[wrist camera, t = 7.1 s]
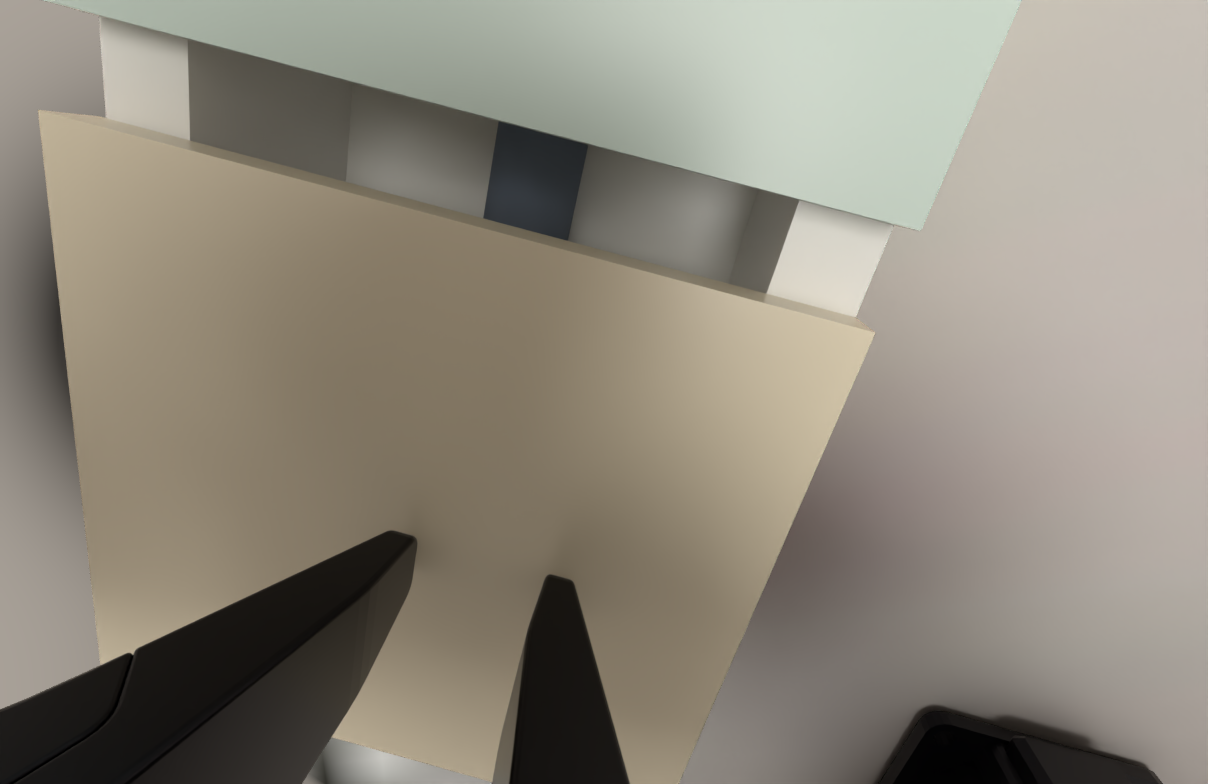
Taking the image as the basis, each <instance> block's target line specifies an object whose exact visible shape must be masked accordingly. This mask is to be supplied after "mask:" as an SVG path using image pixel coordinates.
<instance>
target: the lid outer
mask: <svg viewBox="0 0 1208 784" xmlns="http://www.w3.org/2000/svg"><path fill="white" fill-rule="evenodd" d="M43 1H47V2H50V3H54V4H57V5H61V6H65V7H68V8H72V9H75V10H79V11H82V12H86V13H90V14H93V15H98V16H101V17H105V18H108V19H112V20H116V21H120V22H124V23H127V24H131V25H135V26H139V27H143V28H146V29H150V30H154V31H158V32H162V33H165V34H169V35H173V36H177V37H181V38H184V39H188V40H192V41H196V42H200V43H203V44H207V45H211V46H215V47H219V48H222V49H226V50H230V51H234V52H238V53H241V54H245V55H249V56H253V57H257V58H260V59H264V60H268V61H272V62H276V63H279V64H283V65H287V66H291V67H295V68H298V69H302V70H306V71H310V72H314V73H317V74H321V75H325V76H329V77H333V78H336V79H340V80H344V81H348V82H352V83H355V84H359V85H363V86H367V87H371V88H374V89H378V90H382V91H386V92H390V93H393V94H397V95H401V96H405V97H409V98H412V99H416V100H420V101H424V102H428V103H432V104H435V105H439V106H443V107H447V108H451V109H454V110H458V111H462V112H466V113H470V114H473V115H477V116H481V117H485V118H489V119H492V120H496V121H500V122H504V123H508V124H511V125H515V126H519V127H523V128H527V129H530V130H534V131H538V132H542V133H546V134H549V135H553V136H557V137H561V138H565V139H568V140H572V141H576V142H580V143H584V144H587V145H591V146H595V147H599V148H603V149H606V150H610V151H614V152H618V153H622V154H625V155H629V156H633V157H637V158H641V159H644V160H648V161H652V162H656V163H660V164H663V165H667V166H671V167H675V168H679V169H682V170H686V171H690V172H694V173H698V174H701V175H705V176H709V177H713V178H717V179H720V180H724V181H728V182H732V183H736V184H739V185H743V186H747V187H751V188H755V189H758V190H762V191H766V192H770V193H774V194H777V195H781V196H785V197H789V198H793V199H796V200H800V201H804V202H808V203H812V204H815V205H819V206H823V207H827V208H831V209H834V210H838V211H842V212H846V213H850V214H853V215H857V216H861V217H865V218H869V219H872V220H876V221H880V222H884V223H888V224H891V225H895V226H900V227H905V228H909V229H914V230H918V231H921V230H922V227H923V225H924V223H925V221H926V218H927V216H928V214H929V211H930V209H931V207H932V205H933V202H934V200H935V198H936V195H937V193H938V191H939V189H940V186H941V184H942V182H943V179H944V177H945V175H946V173H947V170H948V168H949V166H950V163H951V161H952V159H953V157H954V154H955V152H956V150H957V147H958V145H959V143H960V141H961V138H962V136H963V134H964V131H965V129H966V127H967V125H968V122H969V120H970V118H971V115H972V113H973V111H974V108H975V106H976V104H977V102H978V99H979V97H980V95H981V92H982V90H983V88H984V86H985V83H986V81H987V79H988V76H989V74H990V72H991V70H992V67H993V65H994V63H995V60H996V58H997V56H998V54H999V51H1000V49H1001V47H1002V44H1003V42H1004V40H1005V38H1006V35H1007V33H1008V31H1009V28H1010V26H1011V24H1012V22H1013V19H1014V17H1015V15H1016V12H1017V10H1018V8H1019V6H1020V3H1021V1H1022V0H43Z"/></svg>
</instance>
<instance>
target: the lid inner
mask: <svg viewBox="0 0 1208 784" xmlns="http://www.w3.org/2000/svg"><path fill="white" fill-rule="evenodd" d="M38 116H39V124H40V132H41V141H42V151H43V160H44V168H45V178H46V187H47V195H48V204H49V213H50V221H51V231H52V240H53V249H54V257H55V266H56V275H57V284H58V293H59V302H60V310H61V320H62V327H63V337H64V346H65V355H66V364H67V373H68V381H69V390H70V399H71V408H72V416H73V426H74V435H75V443H76V452H77V461H78V469H79V479H80V488H81V496H82V506H83V514H84V523H85V532H86V541H87V550H88V559H89V568H90V576H91V585H92V594H93V603H94V612H95V621H96V630H97V638H98V647H99V656H100V665H102V664H104V663H106V662H108V661H110V660H113V659H115V658H117V657H119V656H121V655H123V654H125V653H132V654H134V651H135V650H136V649H137V648H139V647H141V646H143V645H145V644H147V643H149V642H151V641H154V640H156V639H158V638H160V637H162V636H164V635H166V634H169V633H171V632H173V631H175V630H177V629H179V628H181V627H183V626H186V625H188V624H190V623H192V622H194V621H196V620H198V619H200V618H203V617H205V616H207V615H209V614H211V613H213V612H215V611H218V610H220V609H222V608H224V607H226V606H228V605H230V604H232V603H235V602H237V601H239V600H241V599H243V598H245V597H247V596H249V595H252V594H254V593H256V592H258V591H260V590H262V589H264V588H267V587H269V586H271V585H273V584H275V583H277V582H279V581H281V580H284V579H286V578H288V577H290V576H292V575H294V574H296V573H298V572H301V571H303V570H305V569H307V568H309V567H311V566H313V565H316V564H318V563H320V562H322V561H324V560H326V559H328V558H330V557H333V556H335V555H337V554H339V553H341V552H343V551H345V550H347V549H350V548H352V547H354V546H356V545H358V544H360V543H362V542H365V541H367V540H369V539H371V538H373V537H375V536H377V535H379V534H382V533H384V532H386V531H389V530H394V531H398V532H402V533H405V534H409V535H413V536H415V538H416V539H417V552H416V559H415V566H414V572H413V579H412V584H411V587H410V590H409V593H408V596H407V598H406V600H405V602H404V604H403V606H402V608H401V610H400V612H399V614H398V616H397V618H396V620H395V622H394V624H393V626H392V628H391V630H390V632H389V634H388V636H387V638H386V640H385V642H384V644H383V646H382V648H381V650H380V652H379V654H378V656H377V658H376V660H375V662H374V664H373V666H372V668H371V670H370V672H369V674H368V676H367V678H366V680H365V682H364V684H363V686H362V688H361V690H360V692H359V694H358V695H357V697H356V699H355V700H354V702H353V704H352V705H351V707H350V709H349V710H348V712H347V714H346V715H345V717H344V718H343V720H342V721H341V723H340V725H339V726H338V728H337V729H336V731H335V733H334V734H333V736H332V737H333V738H337V739H340V740H344V741H347V742H351V743H354V744H358V745H362V746H365V747H369V748H372V749H376V750H379V751H383V752H387V753H390V754H394V755H397V756H401V757H404V758H408V759H412V760H415V761H419V762H422V763H426V764H429V765H433V766H437V767H440V768H444V769H447V770H451V771H454V772H458V773H462V774H465V775H469V776H472V777H476V778H479V779H483V780H487V781H490V782H492V780H493V775H494V769H495V764H496V758H497V752H498V748H499V743H500V738H501V733H502V729H503V725H504V721H505V717H506V713H507V709H508V705H509V701H510V697H511V693H512V689H513V685H514V681H515V677H516V673H517V669H518V665H519V661H520V657H521V654H522V650H523V646H524V642H525V638H526V634H527V630H528V627H529V623H530V620H531V617H532V614H533V611H534V609H535V606H536V603H537V600H538V597H539V594H540V591H541V588H542V585H543V582H544V579H545V577H546V576H547V575H549V574H552V575H556V576H560V577H563V578H567V579H570V580H572V581H573V582H574V584H575V587H576V591H577V594H578V598H579V601H580V605H581V609H582V612H583V616H584V619H585V623H586V627H587V630H588V634H589V637H590V641H591V645H592V648H593V652H594V655H595V659H596V663H597V666H598V670H599V673H600V677H601V681H602V684H603V688H604V691H605V695H606V699H607V702H608V706H609V709H610V713H611V717H612V720H613V724H614V727H615V731H616V735H617V738H618V742H619V745H620V749H621V753H622V756H623V760H624V763H625V767H626V771H627V774H628V778H629V781H630V784H679V782H680V780H681V777H682V775H683V773H684V771H685V768H686V766H687V764H688V761H689V759H690V757H691V755H692V752H693V750H694V748H695V745H696V743H697V741H698V739H699V736H700V734H701V732H702V729H703V727H704V725H705V723H706V720H707V718H708V716H709V713H710V711H711V709H712V706H713V704H714V702H715V700H716V697H717V695H718V693H719V690H720V688H721V686H722V684H723V681H724V679H725V677H726V674H727V672H728V670H729V668H730V665H731V663H732V661H733V658H734V656H735V654H736V651H737V649H738V647H739V645H740V642H741V640H742V638H743V635H744V633H745V631H746V629H747V626H748V624H749V622H750V619H751V617H752V615H753V613H754V610H755V608H756V606H757V603H758V601H759V599H760V596H761V594H762V592H763V590H764V587H765V585H766V583H767V580H768V578H769V576H770V574H771V571H772V569H773V567H774V564H775V562H776V560H777V558H778V555H779V553H780V551H781V548H782V546H783V544H784V541H785V539H786V537H787V535H788V532H789V530H790V528H791V525H792V523H793V521H794V519H795V516H796V514H797V512H798V509H799V507H800V505H801V503H802V500H803V498H804V496H805V493H806V491H807V489H808V486H809V484H810V482H811V480H812V477H813V475H814V473H815V470H816V468H817V466H818V464H819V461H820V459H821V457H822V454H823V452H824V450H825V448H826V445H827V443H828V441H829V438H830V436H831V434H832V432H833V429H834V427H835V425H836V422H837V420H838V418H839V415H840V413H841V411H842V409H843V406H844V404H845V402H846V399H847V397H848V395H849V393H850V390H851V388H852V386H853V383H854V381H855V379H856V377H857V374H858V372H859V370H860V367H861V365H862V363H863V360H864V358H865V356H866V354H867V351H868V349H869V347H870V344H871V342H872V340H873V338H874V335H875V332H874V331H873V330H871V329H870V328H869V327H867V326H866V325H865V324H863V323H862V322H861V321H860V320H858V319H857V318H856V317H852V316H848V315H844V314H841V313H837V312H833V311H829V310H826V309H822V308H818V307H814V306H811V305H807V304H803V303H799V302H796V301H792V300H788V299H785V298H781V297H777V296H773V295H770V294H766V293H762V292H758V291H755V290H751V289H747V288H743V287H739V286H736V285H732V284H728V283H724V282H721V281H717V280H713V279H709V278H706V277H702V276H698V275H694V274H691V273H687V272H683V271H679V270H675V269H672V268H668V267H664V266H660V265H657V264H653V263H649V262H645V261H642V260H638V259H634V258H630V257H627V256H623V255H619V254H615V253H611V252H608V251H604V250H600V249H596V248H593V247H589V246H585V245H581V244H578V243H574V242H570V241H566V240H563V239H559V238H555V237H551V236H548V235H544V234H540V233H536V232H532V231H529V230H525V229H521V228H517V227H514V226H510V225H506V224H502V223H499V222H495V221H491V220H487V219H484V218H480V217H476V216H472V215H468V214H465V213H461V212H457V211H453V210H450V209H446V208H442V207H438V206H435V205H431V204H427V203H423V202H420V201H416V200H412V199H408V198H405V197H401V196H397V195H393V194H389V193H386V192H382V191H378V190H374V189H371V188H367V187H363V186H359V185H356V184H352V183H348V182H344V181H341V180H337V179H333V178H329V177H325V176H322V175H318V174H314V173H310V172H307V171H303V170H299V169H295V168H292V167H288V166H284V165H280V164H277V163H273V162H269V161H265V160H261V159H258V158H254V157H250V156H246V155H243V154H239V153H235V152H231V151H228V150H224V149H220V148H216V147H213V146H209V145H205V144H201V143H198V142H194V141H190V140H186V139H182V138H179V137H175V136H171V135H167V134H164V133H160V132H156V131H152V130H149V129H145V128H141V127H137V126H134V125H130V124H126V123H122V122H118V121H115V120H111V119H107V118H103V117H99V116H90V115H80V114H72V113H62V112H53V111H43V110H38Z"/></svg>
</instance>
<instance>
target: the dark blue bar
mask: <svg viewBox="0 0 1208 784" xmlns="http://www.w3.org/2000/svg"><path fill="white" fill-rule="evenodd" d="M587 149H588V145H587V144H584V143H580V142H576V141H572V140H568V139H565V138H561V137H557V136H553V135H549V134H546V133H542V132H538V131H534V130H530V129H527V128H523V127H519V126H515V125H511V124H508V123H504V122H500V121H499V122H498V128H497V135H496V141H495V147H494V153H493V160H492V166H491V172H490V179H489V185H488V191H487V197H486V204H485V210H484V216H483V218H484V219H487V220H491V221H495V222H499V223H502V224H506V225H510V226H514V227H517V228H521V229H525V230H529V231H532V232H536V233H540V234H544V235H548V236H551V237H555V238H559V239H563V240H566V241H568V237H569V233H570V228H571V223H572V219H573V214H574V209H575V205H576V200H577V196H578V191H579V186H580V182H581V177H582V172H583V168H584V163H585V158H586V154H587Z"/></svg>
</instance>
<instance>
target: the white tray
mask: <svg viewBox="0 0 1208 784" xmlns="http://www.w3.org/2000/svg"><path fill="white" fill-rule="evenodd" d="M99 28H100V42H101V56H102V69H103V82H104V96H105V110H106V118H107V119H111V120H115V121H118V122H122V123H126V124H130V125H134V126H137V127H141V128H145V129H149V130H152V131H156V132H160V133H164V134H167V135H171V136H175V137H179V138H182V139H186V140H190V141H194V142H198V143H201V144H205V145H209V146H213V147H216V148H220V149H224V150H228V151H231V152H235V153H239V154H243V155H246V156H250V157H254V158H258V159H261V160H265V161H269V162H273V163H277V164H280V165H284V166H288V167H292V168H295V169H299V170H303V171H307V172H310V173H314V174H318V175H322V176H325V177H329V178H333V179H337V180H341V181H344V182H348V183H352V184H356V185H359V186H363V187H367V188H371V189H374V190H378V191H382V192H386V193H389V194H393V195H397V196H401V197H405V198H408V199H412V200H416V201H420V202H423V203H427V204H431V205H435V206H438V207H442V208H446V209H450V210H453V211H457V212H461V213H465V214H468V215H472V216H476V217H480V218H483V216H484V210H485V204H486V197H487V191H488V185H489V179H490V172H491V166H492V160H493V153H494V147H495V141H496V135H497V128H498V122H499V121H496V120H492V119H489V118H485V117H481V116H477V115H473V114H470V113H466V112H462V111H458V110H454V109H451V108H447V107H443V106H439V105H435V104H432V103H428V102H424V101H420V100H416V99H412V98H409V97H405V96H401V95H397V94H393V93H390V92H386V91H382V90H378V89H374V88H371V87H367V86H363V85H359V84H355V83H352V82H348V81H344V80H340V79H336V78H333V77H329V76H325V75H321V74H317V73H314V72H310V71H306V70H302V69H298V68H295V67H291V66H287V65H283V64H279V63H276V62H272V61H268V60H264V59H260V58H257V57H253V56H249V55H245V54H241V53H238V52H234V51H230V50H226V49H222V48H219V47H215V46H211V45H207V44H203V43H200V42H196V41H192V40H188V39H184V38H181V37H177V36H173V35H169V34H165V33H162V32H158V31H154V30H150V29H146V28H143V27H139V26H135V25H131V24H127V23H124V22H120V21H116V20H112V19H108V18H105V17H101V16H99ZM893 227H894V225H891V224H888V223H884V222H880V221H876V220H872V219H869V218H865V217H861V216H857V215H853V214H850V213H846V212H842V211H838V210H834V209H831V208H827V207H823V206H819V205H815V204H812V203H808V202H804V201H800V200H796V199H793V198H789V197H785V196H781V195H777V194H774V193H770V192H766V191H762V190H758V189H755V188H751V187H747V186H743V185H739V184H736V183H732V182H728V181H724V180H720V179H717V178H713V177H709V176H705V175H701V174H698V173H694V172H690V171H686V170H682V169H679V168H675V167H671V166H667V165H663V164H660V163H656V162H652V161H648V160H644V159H641V158H637V157H633V156H629V155H625V154H622V153H618V152H614V151H610V150H606V149H603V148H599V147H595V146H591V145H588V149H587V154H586V158H585V163H584V168H583V172H582V177H581V182H580V186H579V191H578V196H577V200H576V205H575V209H574V214H573V219H572V223H571V228H570V233H569V237H568V241H570V242H574V243H578V244H581V245H585V246H589V247H593V248H596V249H600V250H604V251H608V252H611V253H615V254H619V255H623V256H627V257H630V258H634V259H638V260H642V261H645V262H649V263H653V264H657V265H660V266H664V267H668V268H672V269H675V270H679V271H683V272H687V273H691V274H694V275H698V276H702V277H706V278H709V279H713V280H717V281H721V282H724V283H728V284H732V285H736V286H739V287H743V288H747V289H751V290H755V291H758V292H762V293H766V294H770V295H773V296H777V297H781V298H785V299H788V300H792V301H796V302H799V303H803V304H807V305H811V306H814V307H818V308H822V309H826V310H829V311H833V312H837V313H841V314H844V315H848V316H852V317H856V315H857V313H858V311H859V308H860V306H861V303H862V301H863V299H864V296H865V294H866V291H867V289H868V287H869V284H870V282H871V279H872V277H873V275H874V272H875V270H876V268H877V265H878V263H879V260H880V258H881V256H882V253H883V251H884V248H885V246H886V244H887V241H888V239H889V236H890V234H891V232H892V229H893Z"/></svg>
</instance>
